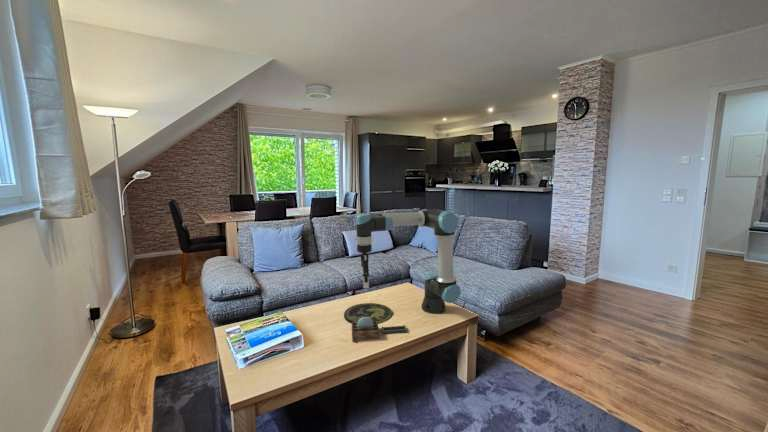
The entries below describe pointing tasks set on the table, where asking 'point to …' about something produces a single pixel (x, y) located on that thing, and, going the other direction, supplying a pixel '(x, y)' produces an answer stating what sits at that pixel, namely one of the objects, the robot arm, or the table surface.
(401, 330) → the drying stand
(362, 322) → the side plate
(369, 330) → the dish rack
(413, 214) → the robot arm
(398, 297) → the table surface
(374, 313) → the decorative plate
